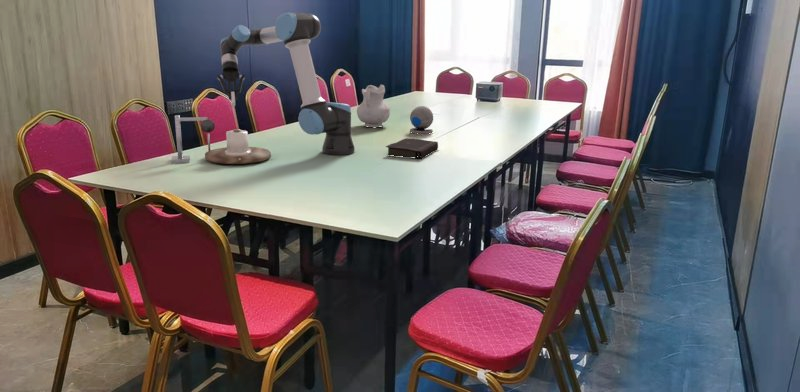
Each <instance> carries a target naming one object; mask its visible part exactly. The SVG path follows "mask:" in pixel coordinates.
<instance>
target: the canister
mask: <svg viewBox="0 0 800 392" xmlns="http://www.w3.org/2000/svg"><path fill="white" fill-rule="evenodd" d="M225 135H226V136H225V137H226V147H227V150H225V155H226V156H231V157H242V156H248V155H250V154H251V150H250V149H248V147H249V133H248V131H247V130H245V129H244V130H243V129H240V128H235V129H232V130H228V131H226V132H225Z"/></svg>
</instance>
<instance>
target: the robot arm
mask: <svg viewBox="0 0 800 392" xmlns="http://www.w3.org/2000/svg"><path fill="white" fill-rule="evenodd" d="M321 31H322V25H321V22H320V19H319V18H318V17H317V16H316V15H314V14H313V13H308V12H306V13H302V12H293V11H292V12H290V11H289V12H284V13H281V14H280V15H278V17H277V19H276V21H275V25H274V26H269V27H268V26H267V27H264V28H259V29H249V28H248V27H247V26H244V24H243V25H242V24H239V25H236V26H235V28H234V29H232V31H231V33H229V36H225V37H224V38H221V40H220V44H219V47H220V57H221V68H222V72H221V74H218V75H217V76H216V77H217V80H218V82H219V83H220V85H221V88H222V90H223V93H224V94H225V95H228V100H229V101H231V106H232V107H236V101H237V100H238V94H241V92H242V89H243V88H242V87H243V84H244V81H245V77H246V76H245V75H244V74H241V72H239V71H240V70H239V61H238V52H239V51H240V50H241V48H242V47H244V46H268V45H270V44H274V43H280V42H283V44H284V47H285V48H286V49H288V50H289V53H290V56H291V57H290V58H291V61H292V65H293V69H294V73H295V77H296V81H297V84H298V85H297V86H298V88H299V92H300V97H301V101H302V104H301V105H300V112H299V114H298V117H297V118H298V125H299V126H300V128H301V129H302V131H303V132H304V133H306V134H308V135H311V136H312V135H313V136H314V135H321V134H324V133H325V138H324V141H323V144H322V151H321V152H322V153H324V154H325V155H329V156H330V155H333V156H346V155H351V154H354V153H355V151H356V150H355V144H354V141H353V139H352V135H351V134H352V108H351V105H349V104H347V103H342V102H332V101H331V102H330V101H326V99H324V98H323V97H322V94H321V89H320V85H319V82H318V78H317V74H316V70H315V66H314V62H313V57H312V54H311V51H310V46H309V45H310V44H311V40H314V39H316V38H317V37H318V36H319V35H320V33H321ZM238 79H239V83H238V87H237V81H238ZM224 80H225V81H226V82H227V87H226V83H225V82H224ZM231 82H232V85H233V91H232V87H231V86H232V85H231Z"/></svg>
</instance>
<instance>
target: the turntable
mask: <svg viewBox="0 0 800 392" xmlns="http://www.w3.org/2000/svg"><path fill="white" fill-rule="evenodd" d="M248 149H250V150H251V154H250V155H248V156H242V157H231V156H226V155H225V150H227V146H226V147H220V148H214V149H210V152H209V151H206V152H205V153H204V158H205V160H206V161H207V162H211V163H216V164H224V165H226V164H227V165H243V164H245V163H246V164H252V163H253V164H254V163H259V162H264V161H266V160H269V159H270V158H271V157H272V151H271V150H269V149H266V148H262V147H258V146H257V147H256V146H248Z"/></svg>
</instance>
